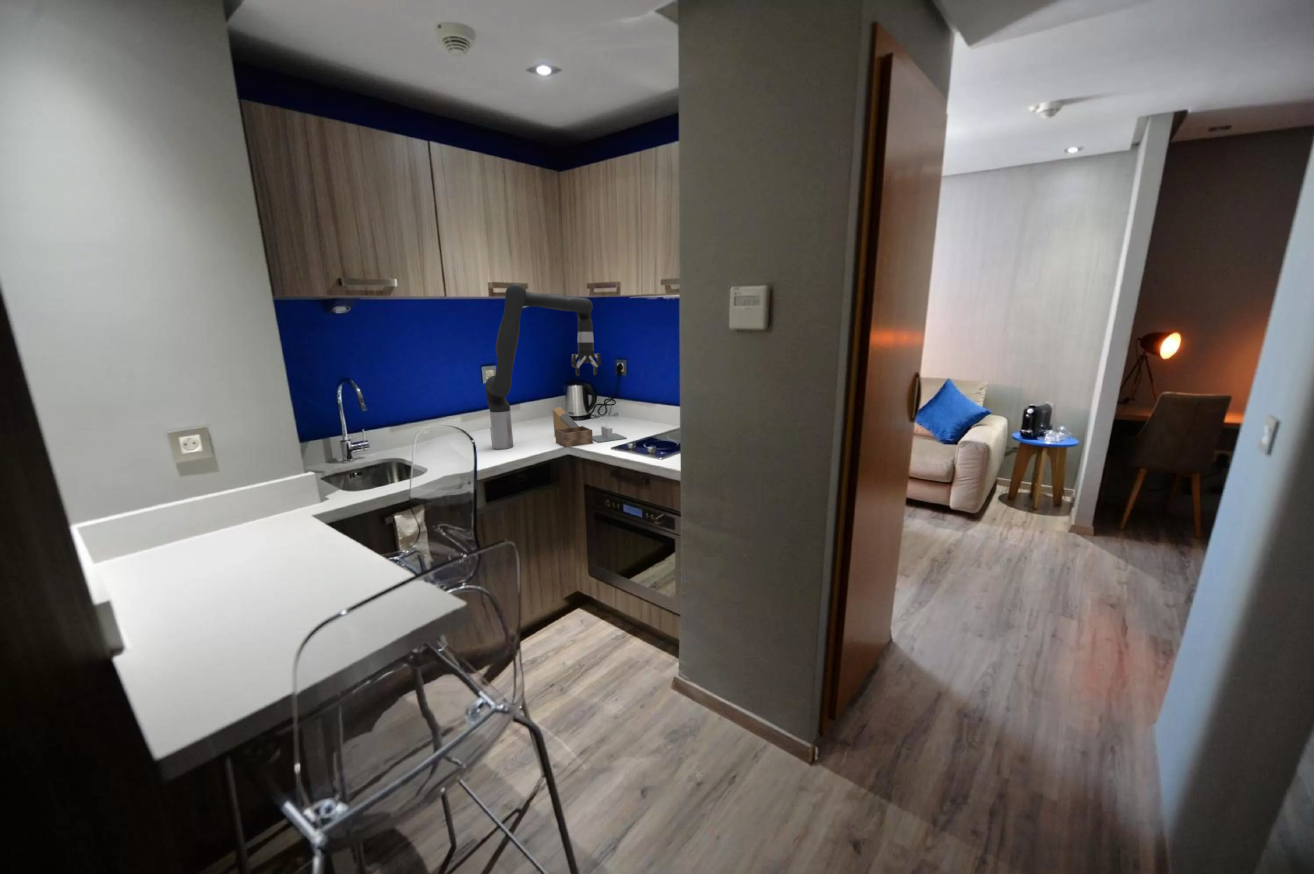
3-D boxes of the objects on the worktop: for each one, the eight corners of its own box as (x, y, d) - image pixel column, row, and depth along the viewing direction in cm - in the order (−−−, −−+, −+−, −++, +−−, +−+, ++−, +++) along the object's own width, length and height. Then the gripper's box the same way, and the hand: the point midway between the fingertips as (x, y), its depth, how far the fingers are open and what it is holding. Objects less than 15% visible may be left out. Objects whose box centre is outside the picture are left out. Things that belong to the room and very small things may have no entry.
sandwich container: (582, 439, 259) (581, 409, 256) (554, 438, 263) (552, 409, 259) (589, 435, 267) (587, 406, 264) (561, 434, 271) (559, 406, 268)
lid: (598, 444, 247) (597, 431, 246) (587, 439, 259) (587, 426, 257) (626, 440, 254) (626, 427, 253) (615, 436, 266) (615, 423, 264)
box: (564, 448, 240) (563, 433, 239) (556, 443, 250) (555, 429, 249) (593, 444, 247) (592, 430, 245) (583, 439, 257) (582, 426, 255)
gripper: (574, 342, 245) (575, 376, 248) (602, 341, 251) (603, 375, 254) (568, 341, 251) (570, 375, 254) (596, 341, 258) (597, 374, 261)
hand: (586, 375), depth 254 cm, fingers open, 8 cm apart
